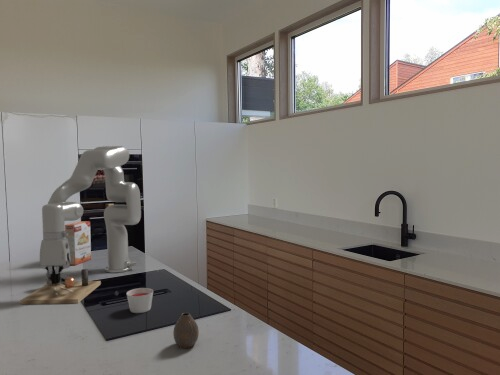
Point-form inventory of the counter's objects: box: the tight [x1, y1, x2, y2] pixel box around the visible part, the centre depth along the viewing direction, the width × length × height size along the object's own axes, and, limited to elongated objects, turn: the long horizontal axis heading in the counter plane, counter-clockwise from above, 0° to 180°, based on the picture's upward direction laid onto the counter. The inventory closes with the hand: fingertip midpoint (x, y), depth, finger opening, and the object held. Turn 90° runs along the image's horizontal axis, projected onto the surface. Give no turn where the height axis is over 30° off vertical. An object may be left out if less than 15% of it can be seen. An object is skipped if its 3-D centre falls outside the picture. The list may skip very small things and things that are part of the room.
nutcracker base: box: [19, 268, 102, 305], centre depth 157 cm, size 21×23×8 cm
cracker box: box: [64, 220, 92, 266], centre depth 209 cm, size 14×6×21 cm, turn 168°
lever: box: [46, 268, 75, 288], centre depth 158 cm, size 22×4×3 cm, turn 45°
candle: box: [126, 287, 154, 314], centre depth 138 cm, size 9×9×6 cm
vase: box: [172, 312, 199, 349], centre depth 110 cm, size 7×7×9 cm
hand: (55, 283), depth 153 cm, fingers closed
